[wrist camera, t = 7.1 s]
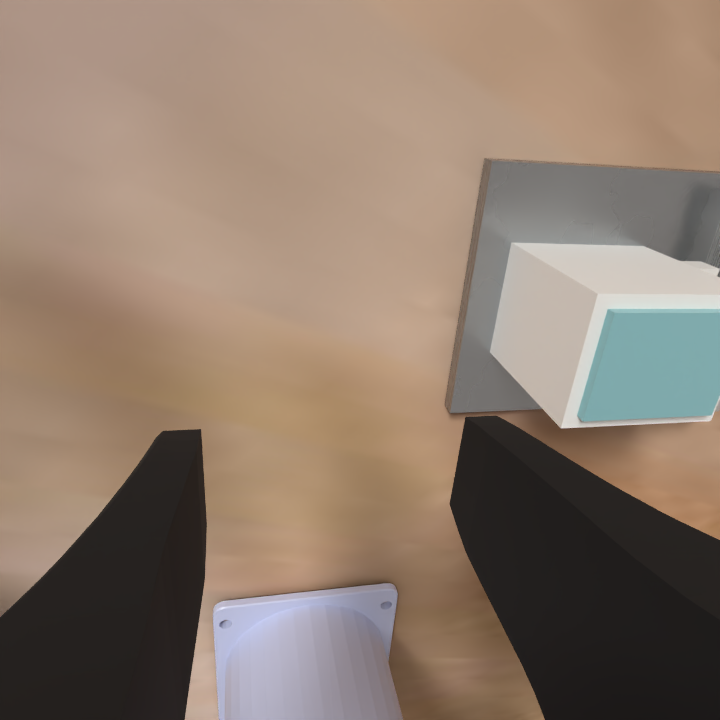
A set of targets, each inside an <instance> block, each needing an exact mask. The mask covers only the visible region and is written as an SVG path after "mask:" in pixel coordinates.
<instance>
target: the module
mask: <svg viewBox="0 0 720 720" xmlns="http://www.w3.org/2000/svg"><path fill="white" fill-rule="evenodd" d="M719 270H720V269H719V268H717V267H714V266H711V265H709V264H706V263H704V262H701V261H679V260H676V259H674V258H671V257H669V256H667V255H664V254H662V253H659V252H657V251H654V250H652V249H649V248H647V247H645V246H621V245H584V244H548V243H511V247H510V252H509V257H508V262H507V267H506V273H505V278H504V283H503V288H502V293H501V298H500V303H499V308H498V313H497V318H496V323H495V329H494V334H493V339H492V344H491V349H490V353H491V354H492V355H493V356H494V357H495V358H496V359H497V361H498V362H499V363H500V364H501V365H502V366H503V367H504V368H505V369H506V370H507V371H508V372H509V373H510V374H511V376H512V377H513V378H514V379H515V380H516V381H517V382H518V383H519V384H520V385H521V386H522V387H523V388H524V389H525V391H526V392H527V393H528V394H529V395H530V396H531V397H532V398H533V399H534V400H535V401H536V402H537V403H538V404H539V406H540V407H541V408H542V409H543V410H544V411H545V412H546V413H547V414H548V415H549V416H550V417H551V418H552V420H553V421H554V422H555V423H556V424H557V425H558V426H559V427H560V428H580V427H600V426H620V425H640V424H660V423H681V422H701V421H711V419H712V417H713V414H714V412H715V410H716V407H717V405H718V402H719V400H720V277H718V276H717V275H718V273H719Z"/></svg>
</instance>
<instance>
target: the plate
mask: <svg viewBox="0 0 720 720" xmlns="http://www.w3.org/2000/svg"><path fill="white" fill-rule="evenodd" d="M719 222H720V172H712V171H695V170H678V169H660V168H643V167H626V166H609V165H591V164H574V163H557V162H539V161H522V160H505V159H487V158H485V159H484V165H483V171H482V177H481V184H480V190H479V196H478V202H477V208H476V214H475V221H474V227H473V233H472V239H471V245H470V252H469V258H468V264H467V270H466V276H465V282H464V289H463V295H462V301H461V307H460V313H459V320H458V326H457V332H456V338H455V344H454V350H453V357H452V363H451V369H450V375H449V381H448V388H447V394H446V400H445V406H446V408H447V409H448V411H449V412H450V413H463V412H486V411H508V410H531V409H542V408H541V407H540V406H539V404H538V403H537V402H536V401H535V400H534V399H533V398H532V397H531V396H530V395H529V394H528V393H527V392H526V391H525V389H524V388H523V387H522V386H521V385H520V384H519V383H518V382H517V381H516V380H515V379H514V378H513V377H512V376H511V374H510V373H509V372H508V371H507V370H506V369H505V368H504V367H503V366H502V365H501V364H500V363H499V362H498V361H497V359H496V358H495V357H494V356H493V355H492V354H491V353H490V349H491V344H492V339H493V334H494V329H495V323H496V318H497V313H498V308H499V303H500V298H501V293H502V288H503V283H504V278H505V273H506V267H507V262H508V257H509V252H510V247H511V243H548V244H584V245H621V246H645V247H647V248H649V249H652V250H654V251H657V252H659V253H662V254H664V255H667V256H669V257H671V258H674V259H676V260H679V261H701V262H704V263H705V262H706V259H707V256H708V254H709V251H710V248H711V245H712V242H713V239H714V237H715V234H716V231H717V228H718V225H719Z"/></svg>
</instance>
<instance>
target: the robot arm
mask: <svg viewBox="0 0 720 720" xmlns="http://www.w3.org/2000/svg"><path fill="white" fill-rule="evenodd" d="M450 507H451V510H452V513H453V516H454V519H455V522H456V525H457V528H458V531H459V534H460V537H461V540H462V542H463V545H464V548H465V551H466V553H467V555H468V557H469V559H470V562H471V564H472V566H473V568H474V570H475V572H476V574H477V576H478V578H479V580H480V582H481V584H482V586H483V588H484V590H485V592H486V594H487V596H488V598H489V600H490V602H491V604H492V606H493V608H494V610H495V612H496V614H497V616H498V618H499V620H500V622H501V624H502V626H503V628H504V630H505V632H506V634H507V636H508V638H509V640H510V642H511V644H512V646H513V648H514V650H515V652H516V654H517V656H518V658H519V660H520V662H521V664H522V666H523V668H524V670H525V672H526V675H527V677H528V679H529V681H530V683H531V686H532V688H533V690H534V692H535V695H536V697H537V700H538V703H539V705H540V708H541V710H542V713H543V715H544V718H545V720H720V540H718V539H716V538H714V537H712V536H710V535H708V534H705V533H703V532H701V531H699V530H697V529H695V528H693V527H691V526H689V525H686V524H684V523H682V522H680V521H678V520H676V519H674V518H672V517H670V516H668V515H666V514H664V513H662V512H660V511H658V510H657V509H655V508H653V507H651V506H649V505H647V504H646V503H644V502H642V501H640V500H638V499H636V498H635V497H633V496H631V495H629V494H627V493H626V492H624V491H622V490H620V489H618V488H617V487H615V486H613V485H612V484H610V483H608V482H606V481H605V480H603V479H601V478H599V477H598V476H596V475H594V474H593V473H591V472H589V471H588V470H586V469H584V468H583V467H581V466H580V465H578V464H576V463H575V462H573V461H571V460H570V459H568V458H567V457H565V456H563V455H562V454H560V453H558V452H557V451H555V450H554V449H552V448H550V447H549V446H547V445H546V444H544V443H542V442H541V441H539V440H538V439H536V438H534V437H533V436H531V435H529V434H528V433H526V432H525V431H523V430H521V429H520V428H518V427H516V426H514V425H513V424H511V423H509V422H507V421H505V420H504V419H502V418H500V417H498V416H481V417H466V418H465V423H464V429H463V434H462V440H461V445H460V450H459V456H458V461H457V467H456V472H455V478H454V483H453V489H452V494H451V500H450ZM206 527H207V522H206V505H205V488H204V472H203V455H202V438H201V429H197V430H175V431H163V432H162V433H160V434H159V435H158V436H157V437H156V439H155V440H154V442H153V443H152V445H151V446H150V448H149V449H148V451H147V452H146V454H145V455H144V457H143V458H142V460H141V461H140V462H139V464H138V465H137V467H136V468H135V469H134V471H133V472H132V473H131V475H130V476H129V477H128V479H127V480H126V481H125V483H124V484H123V485H122V487H121V488H120V489H119V490H118V492H117V493H116V494H115V495H114V497H113V498H112V499H111V500H110V502H109V503H108V504H107V505H106V507H105V508H104V509H103V510H102V512H101V513H100V514H99V515H98V517H97V518H96V519H95V520H94V521H93V522H92V523H91V525H90V526H89V527H88V528H87V529H86V530H85V531H84V532H83V534H82V535H81V536H80V537H79V538H78V539H77V540H76V541H75V542H74V544H73V545H72V546H71V547H70V548H69V549H68V550H67V551H66V552H65V554H64V555H63V556H62V557H61V558H60V559H59V560H58V561H57V562H56V563H55V564H54V565H53V566H52V567H51V568H50V569H49V570H48V571H47V573H46V574H45V575H44V576H43V577H42V578H41V579H40V580H39V581H38V582H37V583H36V584H35V585H34V586H33V587H32V588H31V589H30V590H29V591H27V592H26V593H25V594H24V595H23V596H22V597H21V598H20V599H19V600H18V601H17V602H16V603H15V604H14V605H13V606H12V607H11V608H10V609H8V610H7V611H6V612H5V613H4V614H3V615H2V616H1V617H0V720H185V712H186V705H187V698H188V691H189V684H190V677H191V671H192V664H193V657H194V650H195V643H196V636H197V629H198V623H199V616H200V609H201V602H202V595H203V588H204V580H205V559H206ZM397 598H398V592H397V589H396V587H395V586H394V585H393V584H391V583H383V584H374V585H364V586H355V587H346V588H337V589H328V590H318V591H309V592H300V593H291V594H281V595H272V596H263V597H254V598H245V599H235V600H226V601H222V602H219V603H218V604H216V605H215V606H214V609H213V627H214V644H215V660H216V677H217V694H218V711H219V720H403V717H402V713H401V709H400V705H399V701H398V698H397V694H396V690H395V686H394V682H393V679H392V675H391V671H390V667H389V663H388V661H389V654H390V647H391V640H392V633H393V626H394V619H395V612H396V605H397ZM386 601H387V602H386ZM223 620H227V621H223Z"/></svg>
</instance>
